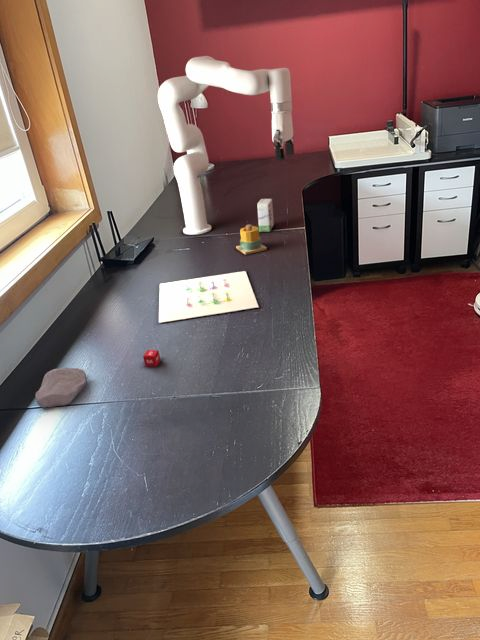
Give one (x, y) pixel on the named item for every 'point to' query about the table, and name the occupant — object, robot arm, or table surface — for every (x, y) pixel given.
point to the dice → (151, 358)
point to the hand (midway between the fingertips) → (285, 157)
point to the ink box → (265, 215)
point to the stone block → (60, 387)
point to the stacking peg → (250, 245)
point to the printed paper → (205, 296)
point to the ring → (249, 234)
